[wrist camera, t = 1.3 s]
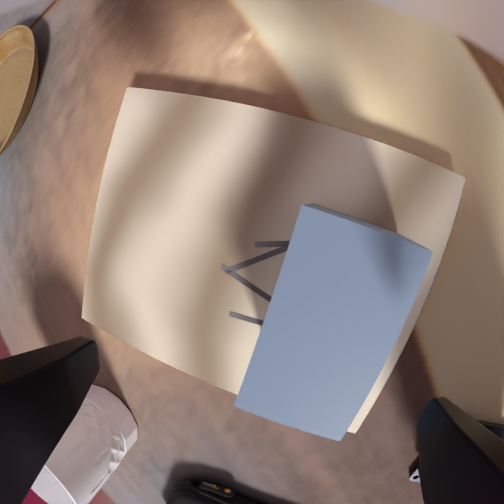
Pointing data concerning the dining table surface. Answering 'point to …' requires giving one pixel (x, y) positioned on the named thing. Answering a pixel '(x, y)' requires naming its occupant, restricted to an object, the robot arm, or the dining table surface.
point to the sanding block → (331, 321)
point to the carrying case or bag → (204, 494)
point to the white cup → (87, 450)
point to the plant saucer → (16, 80)
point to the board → (236, 223)
